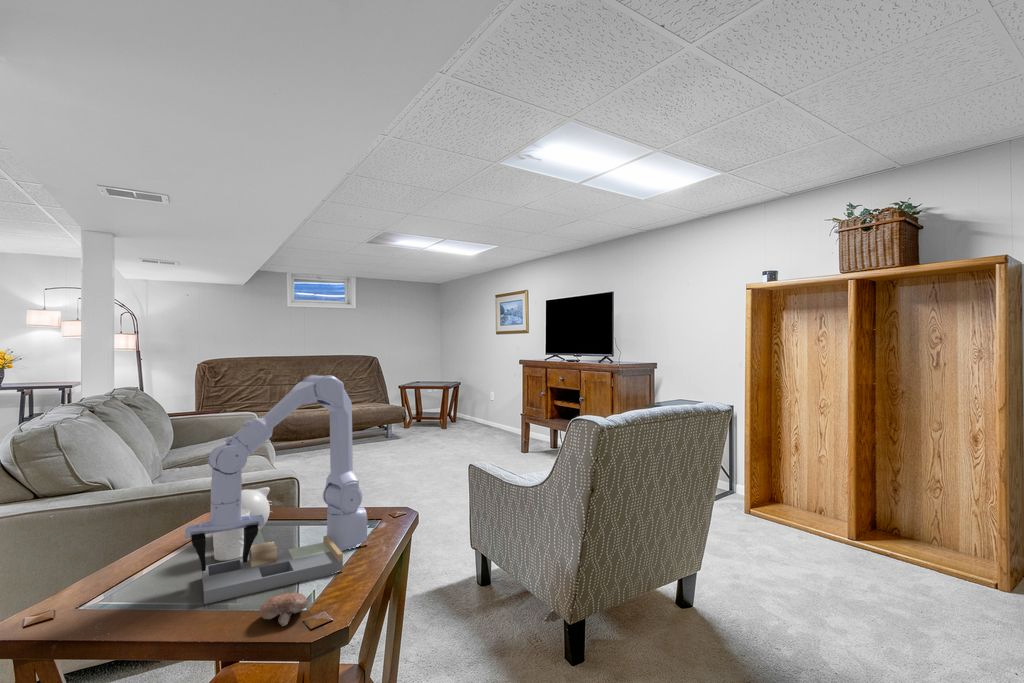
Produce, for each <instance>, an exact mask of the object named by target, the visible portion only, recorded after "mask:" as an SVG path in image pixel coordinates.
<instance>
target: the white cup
mask: <svg viewBox="0 0 1024 683" xmlns="http://www.w3.org/2000/svg"><path fill="white" fill-rule="evenodd" d="M242 516H250V511H249V510H247V509H241V517H242ZM212 544H213V545H212V546H213V557H214V560H215V561H220V562H221V561H222V562H227V561H232V560H237V559H241V557H242V558H243V547H244V528H240V529H234V530H228V531H222V532H216V533H212Z"/></svg>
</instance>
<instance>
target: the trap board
mask: <svg viewBox="0 0 1024 683" xmlns="http://www.w3.org/2000/svg"><path fill="white" fill-rule="evenodd" d="M322 538H323V543H322V542H319V543H313V544H309V545H303V546H299V547H294V548H289V549H284V550H283V549H282V550H279V551H278V550H277V562H274V563H269V564H264V565H259V566H254V567H251V565H250V561H249V556H248V559H247V562H246V563H243V557H242V558H236V559H233V560H227V561H222V562H217V563H213V564H206V571H202V570H201V572H202V573H201V574H202V575H201V578H202V579H201V580H202V591H203V592H202V593H203V603H204V604H203V605H207V604H211V603H216V602H221V601H225V600H228V599H233V598H238V597H242V596H246V595H250V594H253V593H258V592H259V593H260V592H263V591H264V592H265V591H267V590H272V589H276V588H279V587H284V586H289V585H293V584H296V583H301V582H306V581H310V580H314V579H319V578H323V577H324V578H325V577H327V576H332V575H333V574H332V573H335V572H337V571H339V570H342V569H343V565H344V554H343V551H340V550H339V548H338V547H337V546H336V545H335V544H334V542H333V541H332V540H331V539H330V538H329V536H328V535H327V534H326V535H324V536H323V537H322ZM331 574H332V575H331Z"/></svg>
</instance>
